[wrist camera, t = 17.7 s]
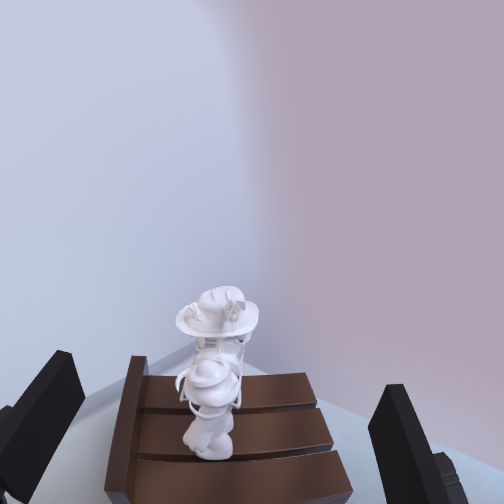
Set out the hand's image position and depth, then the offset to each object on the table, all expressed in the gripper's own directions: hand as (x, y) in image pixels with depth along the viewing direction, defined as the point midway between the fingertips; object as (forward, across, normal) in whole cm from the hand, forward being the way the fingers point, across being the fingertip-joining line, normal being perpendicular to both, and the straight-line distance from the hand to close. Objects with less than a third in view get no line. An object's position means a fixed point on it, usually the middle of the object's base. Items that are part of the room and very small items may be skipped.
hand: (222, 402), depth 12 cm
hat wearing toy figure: (+4, -1, -8) cm, 9 cm away
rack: (+5, 0, -16) cm, 17 cm away
